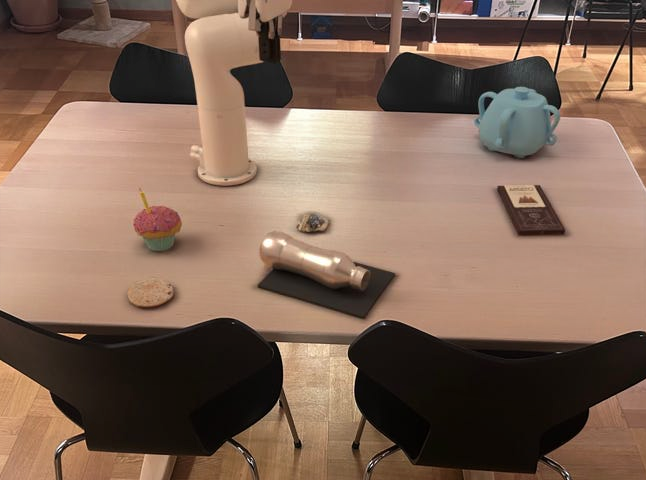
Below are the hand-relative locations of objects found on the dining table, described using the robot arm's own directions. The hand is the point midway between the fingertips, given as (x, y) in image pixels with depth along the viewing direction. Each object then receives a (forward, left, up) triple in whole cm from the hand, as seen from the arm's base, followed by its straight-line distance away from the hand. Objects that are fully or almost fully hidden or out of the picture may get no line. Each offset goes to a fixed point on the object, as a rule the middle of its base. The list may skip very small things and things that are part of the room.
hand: (270, 60), depth 119 cm
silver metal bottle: (+5, -13, -27) cm, 31 cm away
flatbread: (-8, -30, -31) cm, 44 cm away
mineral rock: (+6, +3, -31) cm, 32 cm away
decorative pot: (+32, +55, -31) cm, 71 cm away
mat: (+17, -13, -31) cm, 38 cm away
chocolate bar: (+43, +27, -31) cm, 60 cm away
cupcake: (-16, -16, -31) cm, 39 cm away
